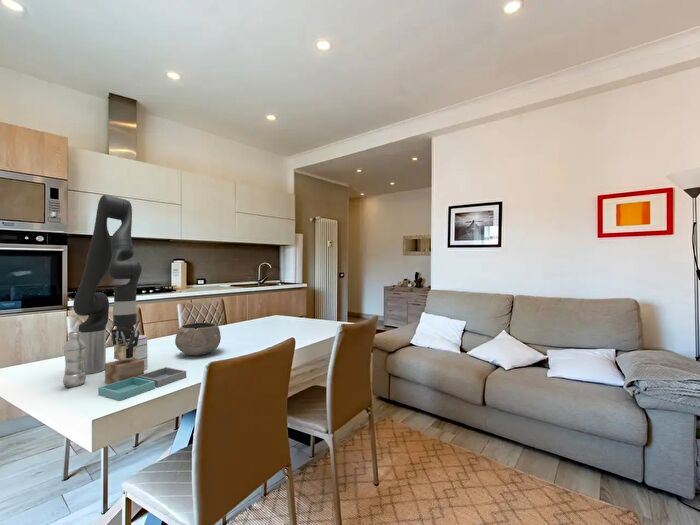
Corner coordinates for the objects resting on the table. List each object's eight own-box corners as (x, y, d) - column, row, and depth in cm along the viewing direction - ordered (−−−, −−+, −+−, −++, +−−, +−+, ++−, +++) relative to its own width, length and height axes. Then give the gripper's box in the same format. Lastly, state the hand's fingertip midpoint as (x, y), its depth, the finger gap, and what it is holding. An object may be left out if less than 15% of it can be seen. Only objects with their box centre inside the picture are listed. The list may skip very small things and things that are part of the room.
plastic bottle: (67, 390, 118) (67, 334, 118) (59, 387, 121) (60, 332, 122) (88, 385, 123) (89, 331, 124) (81, 381, 127) (81, 330, 127)
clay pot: (217, 347, 181) (217, 319, 181) (224, 355, 163) (224, 325, 163) (173, 352, 170) (173, 323, 170) (176, 362, 152) (176, 330, 152)
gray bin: (136, 383, 124) (136, 376, 124) (165, 374, 135) (165, 367, 135) (157, 388, 119) (157, 380, 119) (186, 378, 130) (186, 370, 130)
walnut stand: (104, 384, 124) (105, 363, 124) (129, 377, 132) (129, 357, 132) (119, 388, 120) (119, 366, 120) (144, 380, 128) (144, 360, 128)
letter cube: (114, 358, 125) (114, 345, 125) (127, 355, 129) (127, 342, 129) (122, 360, 123) (122, 346, 123) (135, 357, 127) (135, 343, 127)
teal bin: (98, 396, 113) (98, 387, 113) (133, 384, 124) (133, 376, 124) (119, 402, 108) (119, 393, 108) (154, 389, 119) (154, 381, 119)
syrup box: (148, 368, 143) (148, 335, 143) (134, 372, 138) (134, 338, 138) (139, 367, 145) (140, 334, 146) (126, 370, 140) (126, 336, 140)
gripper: (146, 312, 127) (146, 356, 126) (123, 310, 133) (123, 352, 132) (126, 315, 120) (126, 362, 120) (103, 312, 126) (103, 357, 126)
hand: (124, 356), depth 126 cm, fingers closed on letter cube, 4 cm apart
